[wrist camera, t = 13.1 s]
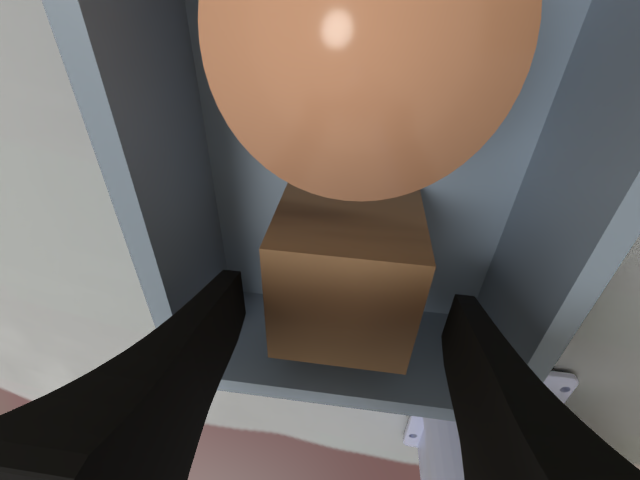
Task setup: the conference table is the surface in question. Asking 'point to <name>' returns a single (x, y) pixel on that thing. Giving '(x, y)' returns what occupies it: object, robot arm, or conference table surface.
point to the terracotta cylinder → (366, 85)
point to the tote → (438, 198)
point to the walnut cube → (346, 280)
